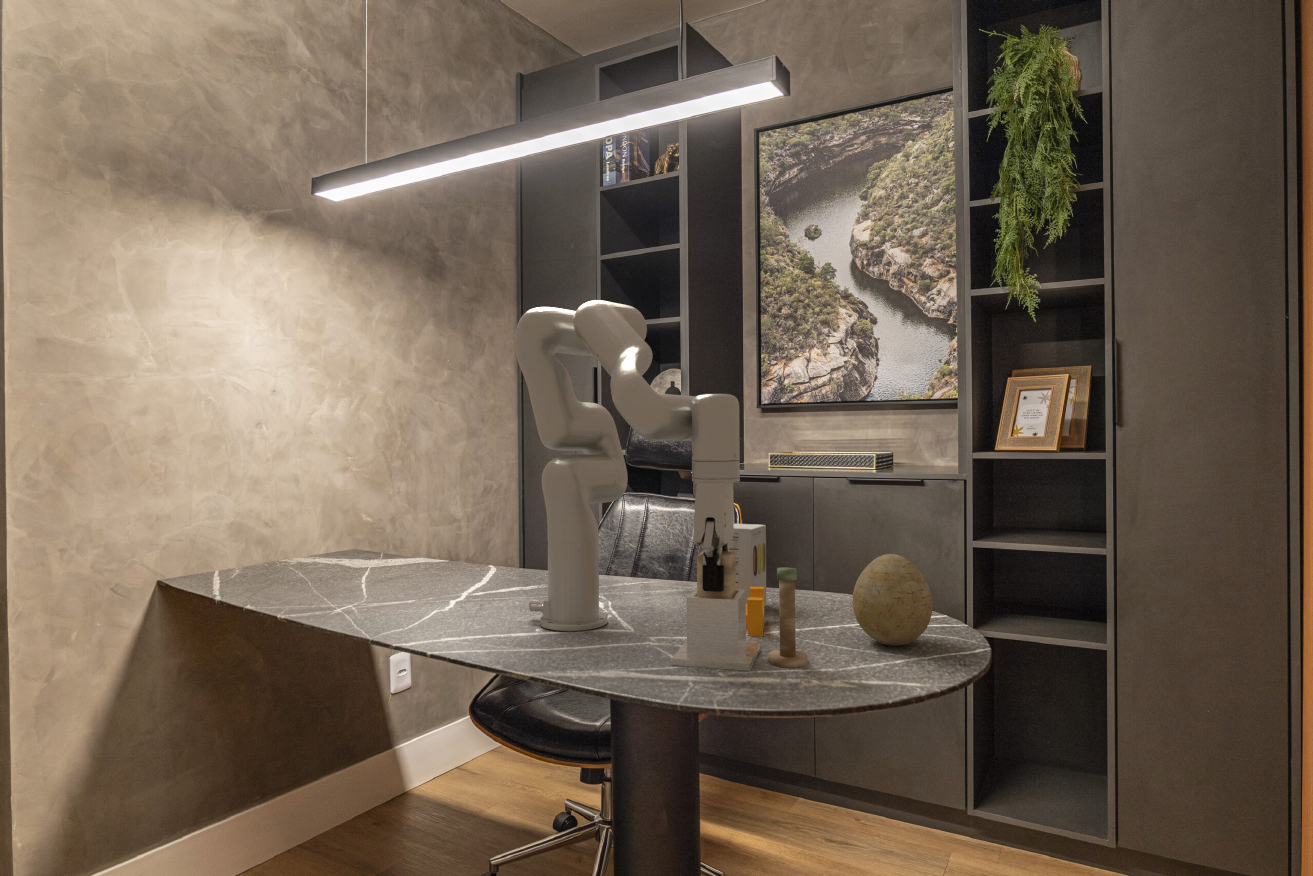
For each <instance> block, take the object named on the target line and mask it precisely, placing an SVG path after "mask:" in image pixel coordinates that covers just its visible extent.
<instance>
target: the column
mask: <svg viewBox="0 0 1313 876" xmlns="http://www.w3.org/2000/svg"><path fill="white" fill-rule="evenodd" d="M716 552H717V551H716ZM702 565H703V550H702V551H701V552H699V554H697V555H696V581H697V582H696V588H697V597H714V598H734V597H735V595H736V564H735V552H730V551H722V564H721V565H724V590H723V591H722V592H714V591H704V590H703V566H702Z"/></svg>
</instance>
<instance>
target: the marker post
mask: <svg viewBox="0 0 1313 876" xmlns="http://www.w3.org/2000/svg"><path fill="white" fill-rule="evenodd" d="M776 579H777V580H778V585H779V586H778V587H779V588H778V591H779V592H778V595H779V596H778V597H779V600H778V601H779V603H778V604H779V612H778V613H779V617H778V618H779V649H776V650H772V651H769V652H768V653H767V663H769V664H770V665H773V666H776V667H780V668H790V669H791V668H801V667H804V666H806V665H807V664H808V663H809V662H808V660H809V659H808V654H807V653H805V652H803V651H800V650H796V648H797V647H796V645H797V644H796V581H797V579H798V569H797V568H794V567H778V568H776Z"/></svg>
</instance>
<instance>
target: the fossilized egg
mask: <svg viewBox="0 0 1313 876" xmlns="http://www.w3.org/2000/svg"><path fill="white" fill-rule="evenodd" d="M932 596H933V595H932V593H931V589H930V587H929V584H928V582H927V580H926V578H925V577H924V575H923V574H922V573H921V571H920V570H919V568H918V567H916V566H915V564H914V563H913V562H911V561H910V560H909V559H907V558H906V557H904V556H901V555H899V554H896V553H895V554H894V553H888V554H887V553H886V554H882V555H880V556H877V557H876V558H874V559H873V560H872V561H871V562H869V564H867V566H865V567H864V569H863V570H862V572H861V573H860V575H859V576H858V578H857V580H856V582H855V585H854V588H853V593H852V608H853V613H854V617H855V619H856V621H857V623H858V625H859V626H860V628H861V629H862V631H864V633H865V634H866V635H867V636H868V637H870V638H871V639H873V641H876V642H878V643H879V644H883V645H887V646H892V647H896V646H904V645H908V644H910V643H912V642H913V641H915V640H917V639H918V638H920V636H922V635H923V634H924V632H925V631H926V630H927V628H928V625H929V624H930V621H931V619H932V615H933V610H934V609H933V606H934V605H933V603H934V602H933V597H932Z"/></svg>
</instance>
